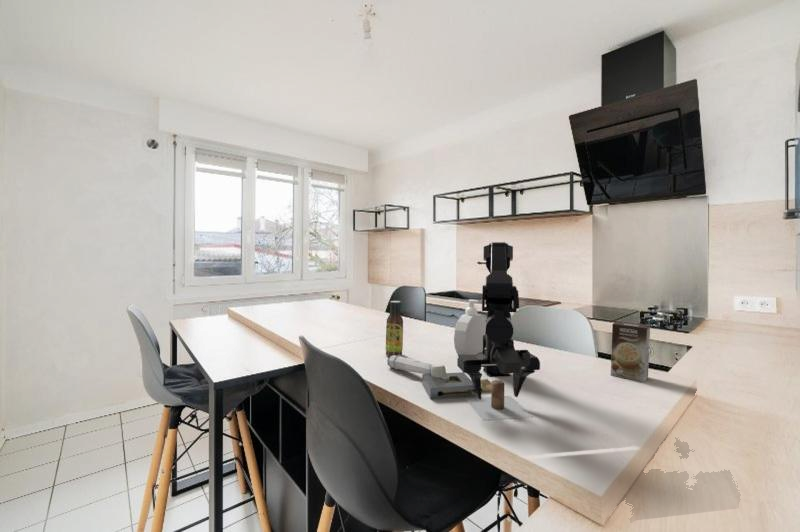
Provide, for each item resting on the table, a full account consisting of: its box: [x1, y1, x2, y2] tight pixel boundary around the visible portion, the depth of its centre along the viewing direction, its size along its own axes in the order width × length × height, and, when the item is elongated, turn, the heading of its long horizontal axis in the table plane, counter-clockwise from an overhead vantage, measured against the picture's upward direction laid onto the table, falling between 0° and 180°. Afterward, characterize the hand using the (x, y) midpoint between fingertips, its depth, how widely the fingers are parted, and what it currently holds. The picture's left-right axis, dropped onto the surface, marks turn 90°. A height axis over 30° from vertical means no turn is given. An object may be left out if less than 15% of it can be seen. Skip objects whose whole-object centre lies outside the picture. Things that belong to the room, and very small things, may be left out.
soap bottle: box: [453, 299, 486, 356], centre depth 134 cm, size 16×5×20 cm, turn 137°
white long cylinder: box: [386, 355, 449, 383], centre depth 108 cm, size 5×7×25 cm
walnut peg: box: [490, 379, 505, 410], centre depth 86 cm, size 3×3×6 cm
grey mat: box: [465, 395, 534, 422], centre depth 86 cm, size 12×12×1 cm
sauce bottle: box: [385, 300, 404, 357], centre depth 131 cm, size 6×6×20 cm
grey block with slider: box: [421, 371, 492, 400], centre depth 97 cm, size 18×10×3 cm, turn 98°
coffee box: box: [610, 320, 651, 383], centre depth 109 cm, size 9×6×16 cm
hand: (497, 397), depth 86 cm, fingers open, 9 cm apart
